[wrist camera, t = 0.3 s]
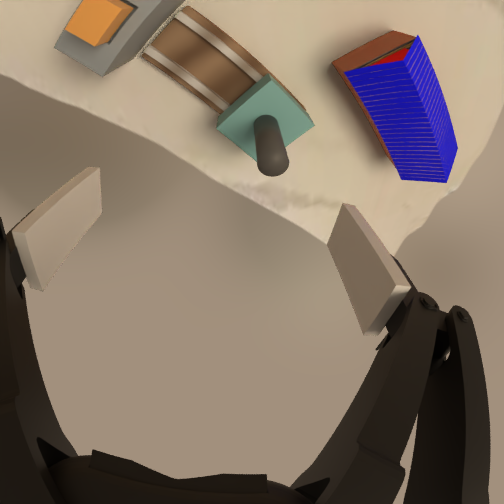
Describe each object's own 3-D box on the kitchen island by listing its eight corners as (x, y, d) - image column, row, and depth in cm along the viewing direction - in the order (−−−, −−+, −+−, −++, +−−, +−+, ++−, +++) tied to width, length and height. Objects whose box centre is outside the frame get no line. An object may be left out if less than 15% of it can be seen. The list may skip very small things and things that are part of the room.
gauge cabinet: (147, -33, 17) (116, -42, 10) (191, -6, 21) (173, -12, 15) (91, 36, 23) (52, 51, 17) (131, 61, 28) (100, 80, 21)
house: (393, 27, 24) (441, 42, 16) (437, 128, 36) (474, 166, 28) (327, 61, 29) (359, 83, 22) (385, 157, 42) (414, 200, 34)
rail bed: (144, 54, 27) (138, 57, 26) (189, 5, 22) (185, 5, 21) (258, 142, 40) (259, 150, 38) (304, 106, 35) (307, 112, 33)
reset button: (103, -9, 13) (89, -9, 11) (133, 8, 16) (122, 9, 14) (79, 25, 15) (64, 29, 13) (108, 41, 18) (95, 46, 16)
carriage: (218, 116, 33) (209, 167, 25) (268, 72, 29) (281, 105, 20) (259, 151, 38) (266, 210, 30) (308, 113, 33) (334, 163, 25)
